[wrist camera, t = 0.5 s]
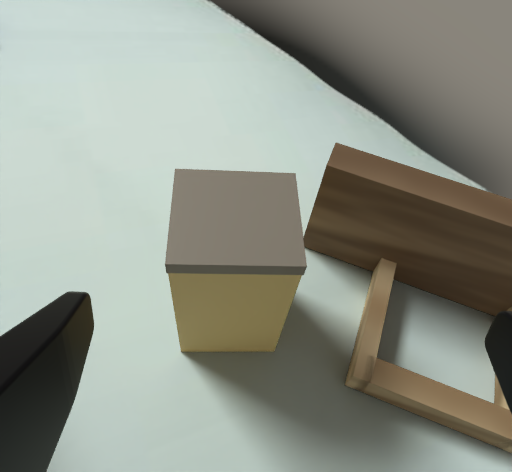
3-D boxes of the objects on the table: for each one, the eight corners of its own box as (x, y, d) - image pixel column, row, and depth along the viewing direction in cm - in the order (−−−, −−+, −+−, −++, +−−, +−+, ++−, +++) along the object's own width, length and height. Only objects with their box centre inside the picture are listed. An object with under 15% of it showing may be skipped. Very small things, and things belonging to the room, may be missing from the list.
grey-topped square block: (275, 352, 25) (306, 266, 17) (180, 352, 24) (165, 264, 16) (270, 277, 28) (295, 173, 20) (185, 276, 27) (175, 168, 19)
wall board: (611, 493, 22) (780, 479, 16) (260, 350, 25) (277, 287, 18) (593, 326, 28) (709, 263, 21) (309, 224, 31) (335, 142, 24)
